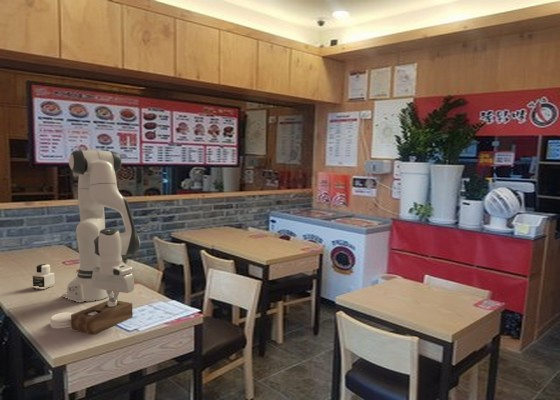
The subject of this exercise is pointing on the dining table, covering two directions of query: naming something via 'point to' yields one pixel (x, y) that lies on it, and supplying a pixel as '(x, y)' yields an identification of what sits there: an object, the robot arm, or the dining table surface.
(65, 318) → the coaster
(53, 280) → the medicine bottle
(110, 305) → the steel peg
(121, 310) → the walnut block
